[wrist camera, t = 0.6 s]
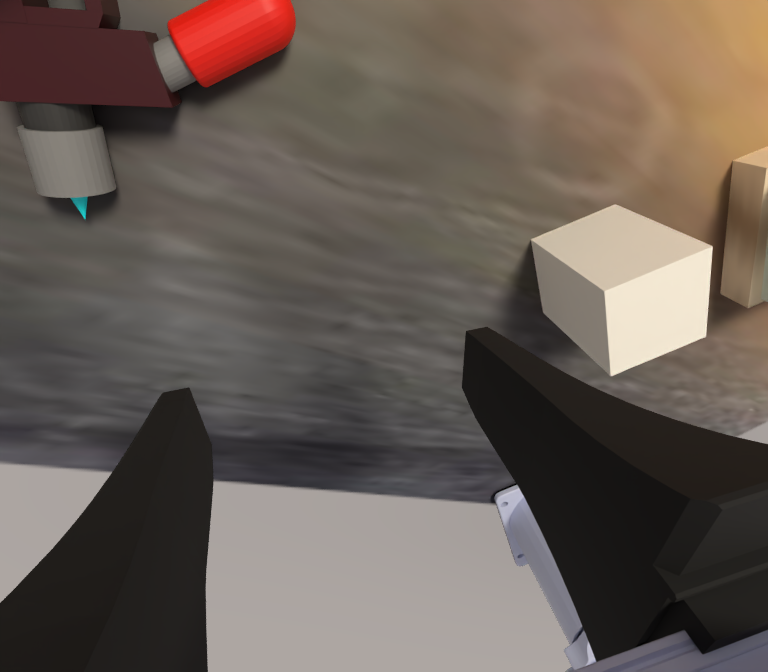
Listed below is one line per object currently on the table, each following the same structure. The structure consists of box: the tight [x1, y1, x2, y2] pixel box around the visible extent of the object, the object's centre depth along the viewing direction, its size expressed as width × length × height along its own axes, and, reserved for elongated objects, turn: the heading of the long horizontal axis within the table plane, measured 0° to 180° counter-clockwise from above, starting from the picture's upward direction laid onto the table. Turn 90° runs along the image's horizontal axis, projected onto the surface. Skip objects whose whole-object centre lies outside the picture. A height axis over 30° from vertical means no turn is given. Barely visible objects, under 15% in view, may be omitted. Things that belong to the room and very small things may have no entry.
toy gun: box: [0, 0, 296, 219], centre depth 14 cm, size 10×12×5 cm
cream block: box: [531, 204, 713, 376], centre depth 22 cm, size 4×4×6 cm
